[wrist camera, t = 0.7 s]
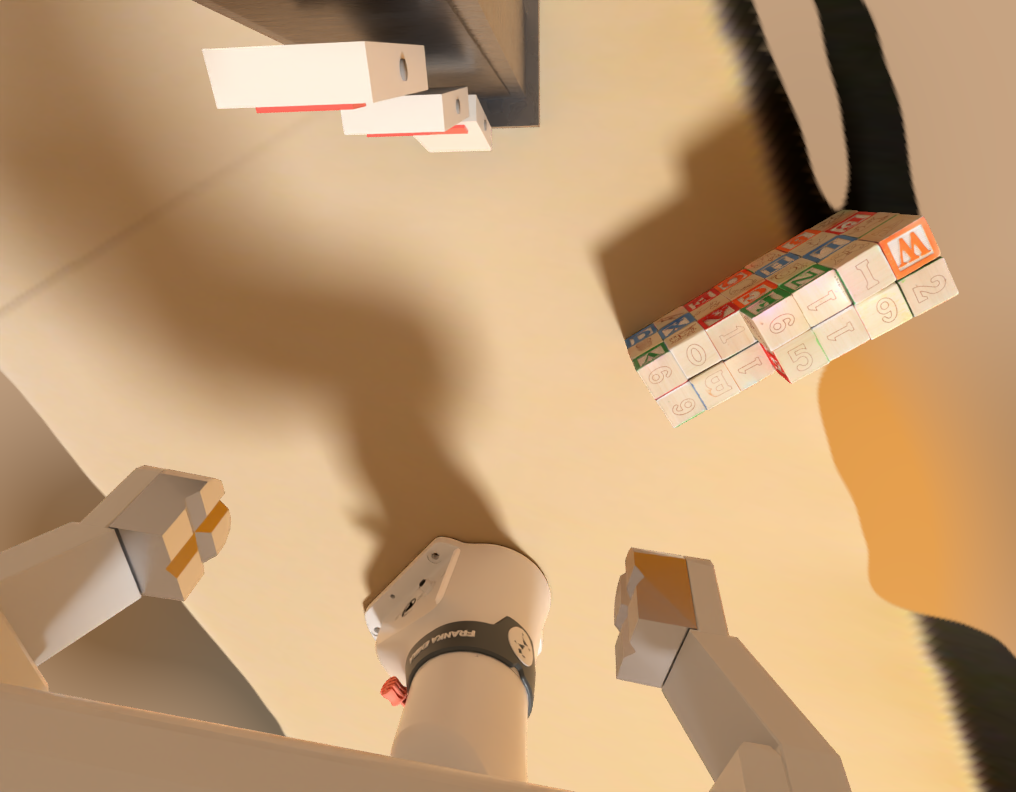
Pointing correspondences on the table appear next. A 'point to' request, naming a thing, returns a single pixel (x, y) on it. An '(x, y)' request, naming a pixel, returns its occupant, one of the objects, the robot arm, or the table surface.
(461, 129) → the bottom rocker
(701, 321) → the stack of blocks
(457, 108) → the middle rocker
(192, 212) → the table surface
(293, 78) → the top rocker
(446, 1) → the power strip
